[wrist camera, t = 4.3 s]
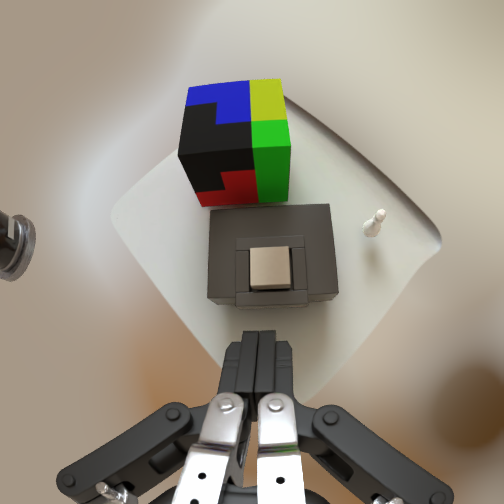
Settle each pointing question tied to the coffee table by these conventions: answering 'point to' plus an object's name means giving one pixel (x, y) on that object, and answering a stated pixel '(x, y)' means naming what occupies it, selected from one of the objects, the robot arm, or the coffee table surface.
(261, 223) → the dark grey block
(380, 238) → the coffee table surface
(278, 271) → the beige push button
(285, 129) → the puzzle toy
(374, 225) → the chess pawn
